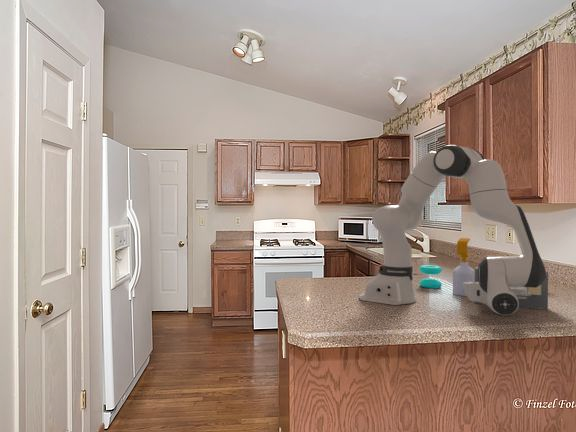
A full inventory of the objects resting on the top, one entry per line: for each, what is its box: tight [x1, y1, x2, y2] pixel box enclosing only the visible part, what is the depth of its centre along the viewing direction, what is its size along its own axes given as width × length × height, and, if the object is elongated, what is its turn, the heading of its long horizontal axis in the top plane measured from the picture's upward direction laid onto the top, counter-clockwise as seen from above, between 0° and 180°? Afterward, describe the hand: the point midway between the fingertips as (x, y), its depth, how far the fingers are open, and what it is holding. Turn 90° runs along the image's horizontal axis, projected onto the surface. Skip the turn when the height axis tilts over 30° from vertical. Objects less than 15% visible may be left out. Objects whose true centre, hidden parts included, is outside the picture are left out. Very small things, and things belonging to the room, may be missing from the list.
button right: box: [526, 285, 541, 295], centre depth 136 cm, size 4×7×4 cm, turn 158°
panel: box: [473, 255, 549, 310], centre depth 141 cm, size 24×3×19 cm, turn 68°
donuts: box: [419, 264, 443, 289], centre depth 177 cm, size 10×10×10 cm
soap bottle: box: [452, 237, 475, 297], centre depth 160 cm, size 9×9×25 cm
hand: (491, 286), depth 138 cm, fingers closed
